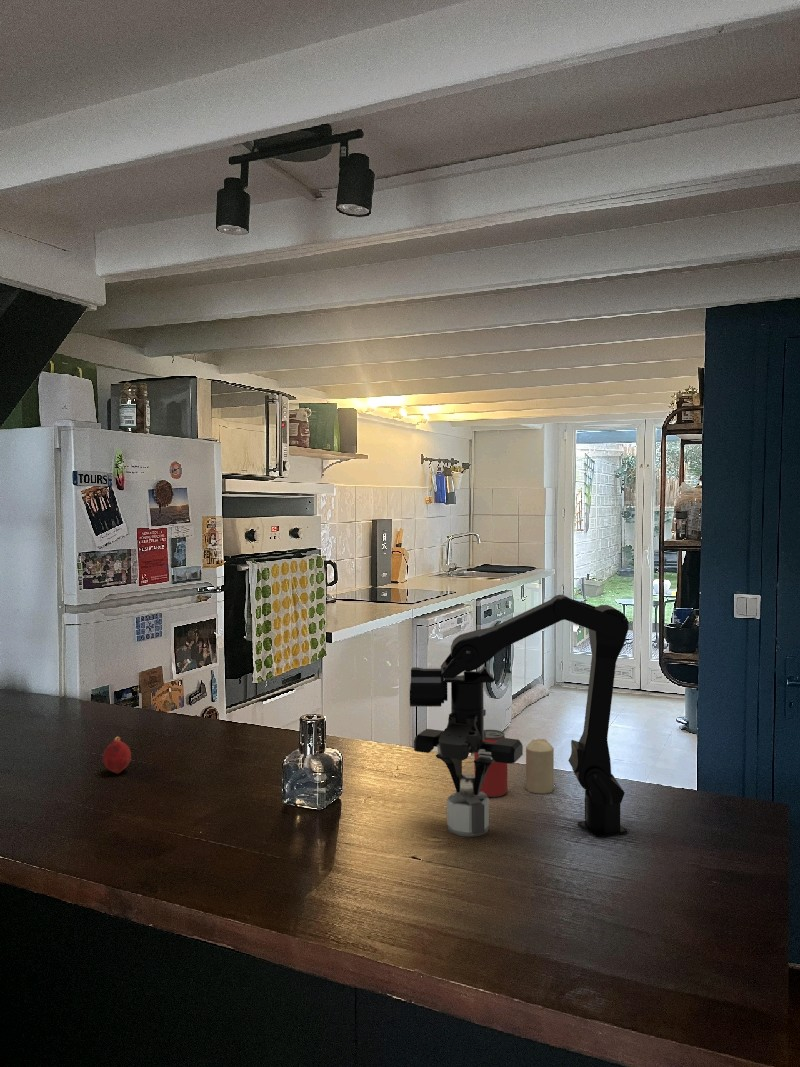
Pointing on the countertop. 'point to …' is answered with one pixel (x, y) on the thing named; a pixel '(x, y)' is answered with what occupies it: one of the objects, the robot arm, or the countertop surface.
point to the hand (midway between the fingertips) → (467, 793)
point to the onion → (117, 756)
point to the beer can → (494, 770)
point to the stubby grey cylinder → (467, 785)
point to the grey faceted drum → (468, 814)
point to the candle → (539, 766)
